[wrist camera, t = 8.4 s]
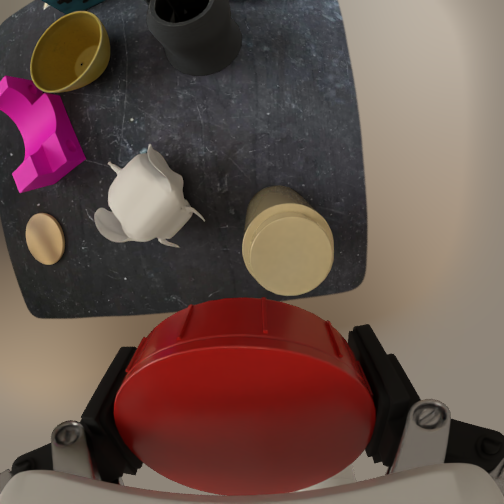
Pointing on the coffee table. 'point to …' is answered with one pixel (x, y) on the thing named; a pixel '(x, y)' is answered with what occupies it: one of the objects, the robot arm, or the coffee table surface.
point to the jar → (286, 242)
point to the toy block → (40, 133)
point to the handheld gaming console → (72, 5)
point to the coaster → (45, 238)
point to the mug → (195, 34)
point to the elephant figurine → (144, 202)
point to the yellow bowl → (70, 53)
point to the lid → (245, 399)
